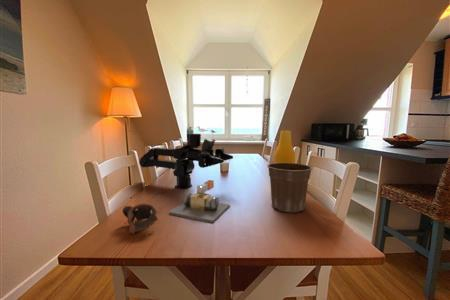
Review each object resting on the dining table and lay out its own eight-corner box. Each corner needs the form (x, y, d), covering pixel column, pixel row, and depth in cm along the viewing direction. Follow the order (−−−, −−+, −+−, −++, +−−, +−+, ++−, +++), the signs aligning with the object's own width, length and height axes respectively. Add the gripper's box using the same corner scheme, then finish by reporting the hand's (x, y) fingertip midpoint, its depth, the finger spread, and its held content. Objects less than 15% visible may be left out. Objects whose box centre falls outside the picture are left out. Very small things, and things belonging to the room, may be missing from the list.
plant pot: (263, 199, 89) (264, 161, 87) (301, 199, 89) (303, 162, 87) (270, 215, 73) (271, 170, 71) (317, 216, 73) (319, 170, 71)
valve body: (183, 207, 77) (182, 192, 76) (190, 203, 82) (190, 189, 81) (212, 213, 72) (212, 197, 72) (218, 208, 77) (218, 193, 76)
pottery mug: (164, 221, 69) (163, 205, 64) (147, 247, 61) (145, 231, 57) (132, 209, 71) (129, 192, 66) (112, 233, 63) (107, 216, 59)
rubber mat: (169, 214, 73) (169, 211, 73) (191, 200, 87) (191, 198, 87) (212, 222, 67) (212, 220, 67) (229, 206, 81) (229, 204, 81)
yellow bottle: (271, 194, 95) (273, 130, 91) (274, 189, 103) (276, 130, 100) (292, 197, 91) (295, 131, 88) (294, 191, 100) (297, 130, 96)
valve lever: (202, 195, 74) (202, 187, 74) (195, 194, 76) (195, 186, 75) (214, 187, 84) (214, 180, 84) (208, 186, 85) (208, 179, 85)
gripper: (187, 140, 91) (218, 143, 83) (209, 137, 107) (237, 139, 100) (187, 165, 92) (218, 170, 85) (209, 158, 109) (236, 162, 102)
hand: (228, 159), depth 93 cm, fingers open, 9 cm apart
